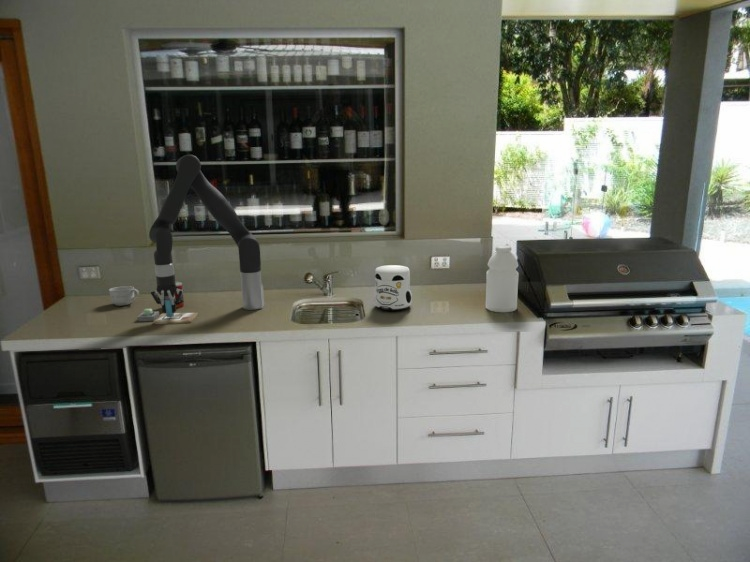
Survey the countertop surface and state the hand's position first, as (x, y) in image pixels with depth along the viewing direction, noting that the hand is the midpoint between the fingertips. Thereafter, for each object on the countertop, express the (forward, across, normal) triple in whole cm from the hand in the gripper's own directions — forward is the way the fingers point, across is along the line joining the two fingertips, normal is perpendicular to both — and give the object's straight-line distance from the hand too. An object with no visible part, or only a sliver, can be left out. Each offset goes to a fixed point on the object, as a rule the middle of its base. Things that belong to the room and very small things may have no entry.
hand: (169, 312), depth 240 cm
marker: (+2, 0, 0) cm, 2 cm away
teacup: (+4, +29, -26) cm, 39 cm away
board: (+4, -2, -2) cm, 4 cm away
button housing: (+4, +10, -3) cm, 12 cm away
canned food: (+4, +4, -20) cm, 21 cm away
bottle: (+4, -145, -3) cm, 145 cm away
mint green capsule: (+4, +10, -3) cm, 12 cm away
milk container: (+4, -97, -9) cm, 97 cm away
